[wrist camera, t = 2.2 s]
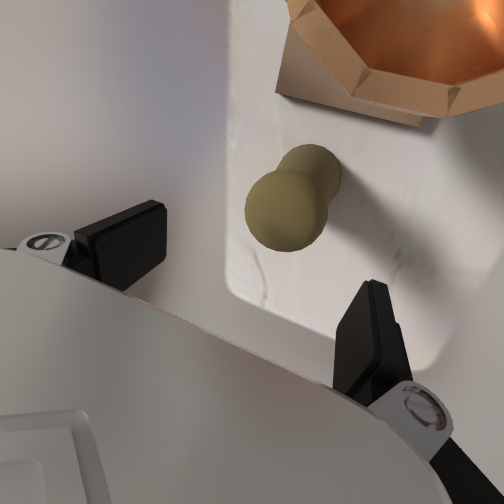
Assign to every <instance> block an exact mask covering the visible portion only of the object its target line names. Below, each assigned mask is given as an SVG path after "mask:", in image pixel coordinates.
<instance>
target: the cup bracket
mask: <svg viewBox="0 0 504 504" xmlns="http://www.w3.org/2000/svg"><path fill="white" fill-rule="evenodd" d="M286 2H287V4H288V10H289V15H290V24H289V29H288V34H287V38H286V43H285V48H284V53H283V57H282V62H281V67H280V71H279V76H278V81H277V86H276V90H275V93H278V94H282V95H286V96H291V97H295V98H299V99H303V100H307V101H311V102H315V103H319V104H323V105H328V106H332V107H336V108H340V109H344V110H348V111H352V112H356V113H361V114H365V115H369V116H373V117H377V118H381V119H385V120H389V121H393V122H398V123H402V124H406V125H410V126H414V127H419V125H420V123H421V122H422V120H423V118H424V116H428V117H440V118H448V117H452V116H456V115H459V114H463V113H466V112H470V111H474V110H477V109H481V108H484V107H488V106H492V105H495V104H499V103H503V102H504V0H286Z"/></svg>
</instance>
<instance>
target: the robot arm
mask: <svg viewBox="0 0 504 504" xmlns="http://www.w3.org/2000/svg"><path fill="white" fill-rule="evenodd" d="M74 235H75V239H74V240H72V241H71V239H70V237H69V236H68V235H66V234H64V233H59V232H43V233H38V234H35V235H32V236H29V237H27V238H25V239H24V240H23V241H22V242H21V244H20V245H19V247H18V248H8V249H0V504H504V496H503V495H502V494H501V493H500V492H499V491H498V490H497V488H496V487H495V486H494V485H493V484H492V483H491V482H490V481H489V479H488V478H487V477H486V476H485V475H484V474H483V473H482V472H481V471H480V469H479V468H478V467H477V466H476V465H475V464H474V463H473V462H472V461H471V459H469V457H468V456H467V455H466V454H465V453H464V452H463V451H462V449H461V448H459V446H458V445H457V444H456V443H455V442H454V441H453V440H452V438H451V437H450V436H451V434H452V431H453V421H452V418H451V416H450V413H449V412H448V410H447V408H446V407H445V405H444V404H443V403H442V402H441V400H440V399H439V398H438V397H437V396H436V395H435V394H434V393H432V392H431V391H430V390H429V389H428V388H426V387H424V386H423V385H420V384H418V383H416V382H413V378H412V374H411V370H410V366H409V361H408V357H407V353H406V349H405V345H404V341H403V337H402V332H401V328H400V326H399V324H398V323H397V322H395V317H394V313H393V308H392V304H391V300H390V295H389V291H388V286H387V284H384V283H382V282H379V281H376V280H373V279H371V280H370V281H364V282H363V284H362V286H361V287H360V289H359V291H358V292H357V294H356V296H355V297H354V299H353V301H352V302H351V304H350V306H349V308H348V309H347V311H346V313H345V314H344V316H343V318H342V319H341V321H340V323H339V324H338V327H337V330H336V343H335V360H334V375H333V389H332V388H330V387H328V386H326V385H324V384H322V383H320V382H318V381H316V380H314V379H312V378H310V377H308V376H306V375H304V374H301V373H299V372H297V371H295V370H293V369H291V368H289V367H287V366H285V365H283V364H280V363H278V362H276V361H274V360H272V359H270V358H267V357H265V356H263V355H261V354H259V353H257V352H254V351H252V350H250V349H248V348H246V347H243V346H241V345H239V344H237V343H235V342H233V341H230V340H228V339H226V338H224V337H222V336H219V335H217V334H215V333H213V332H211V331H209V330H206V329H204V328H202V327H200V326H197V325H195V324H193V323H191V322H189V321H186V320H184V319H182V318H180V317H178V316H175V315H173V314H171V313H169V312H167V311H164V310H162V309H160V308H157V307H155V306H153V305H151V304H149V303H146V302H144V301H142V300H140V299H138V298H135V297H133V296H131V295H129V294H126V293H124V292H123V291H125V290H126V289H127V288H129V287H130V286H131V285H132V284H134V283H135V282H136V281H138V280H139V279H140V278H141V277H143V276H144V275H145V274H147V273H148V272H149V271H151V270H152V269H153V268H155V267H156V266H157V265H158V264H160V263H161V262H162V261H163V260H164V259H165V257H166V246H167V241H166V240H167V209H166V208H165V206H164V204H163V203H160V202H157V201H155V200H149V201H146V202H144V203H141V204H139V205H136V206H134V207H132V208H129V209H127V210H124V211H122V212H120V213H117V214H115V215H112V216H110V217H107V218H105V219H103V220H100V221H98V222H95V223H93V224H91V225H88V226H86V227H83V228H81V229H79V230H76V231H74Z"/></svg>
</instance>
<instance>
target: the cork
mask: <svg viewBox="0 0 504 504" xmlns="http://www.w3.org/2000/svg"><path fill="white" fill-rule="evenodd" d="M340 182H341V170H340V166H339V162H338V161H337V159H336V158H335V156H334V155H333V154H332V153H331V152H330V151H328V150H327V149H326V148H324V147H322V146H318V145H315V144H307V145H301V146H298V147H296V148H294V149H292V150H291V151H289V152H288V153H287V154H286V155H285V156H284V157H283V159H282V160H281V162H280V164H279V165H278V167H277V169H276V171H273V172H271V173H268V174H266V175H264V176H263V177H262V178H261V179H260V180H258V181H257V182H256V183H255V184H254V185H253V187H252V189H251V190H250V192H249V194H248V196H247V199H246V204H245V209H244V210H245V219H246V223H247V225H248V227H249V230H250V232H251V233H252V235H253V236H254V237H255V238H256V239H257V241H258V242H260V243H261V244H263V245H264V246H265V247H267V248H270V249H273V250H275V251H281V252H293V251H298V250H301V249H303V248H305V247H307V246H309V245H310V244H312V243H313V242H314V241H315V240H316V239H317V237H318V236H319V235H320V234H321V233H322V231H323V229H324V226H325V224H326V222H327V216H328V203H329V202H330V201H331V199H332V198H333V197H334V195H335V194H336V193H337V190H338V188H339V185H340Z"/></svg>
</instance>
